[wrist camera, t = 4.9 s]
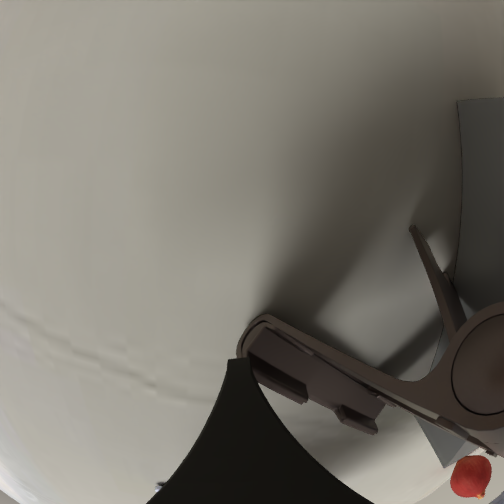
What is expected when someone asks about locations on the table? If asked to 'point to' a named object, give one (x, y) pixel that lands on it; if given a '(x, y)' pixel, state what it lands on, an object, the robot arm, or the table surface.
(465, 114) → the charging dock
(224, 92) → the table surface
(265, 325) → the portable electronic device stand
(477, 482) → the onion
